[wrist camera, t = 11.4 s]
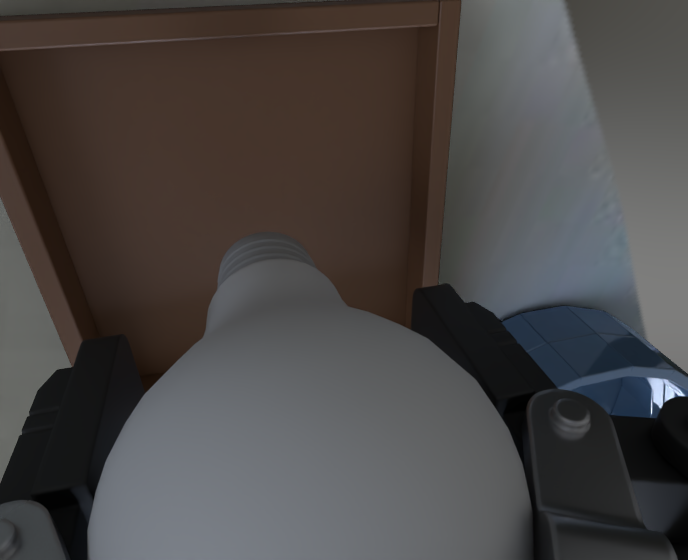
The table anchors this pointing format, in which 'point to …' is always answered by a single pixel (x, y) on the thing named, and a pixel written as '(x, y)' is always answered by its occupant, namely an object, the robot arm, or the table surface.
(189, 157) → the tray
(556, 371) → the bowl
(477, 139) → the table surface
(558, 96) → the table surface
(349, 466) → the lightbulb
